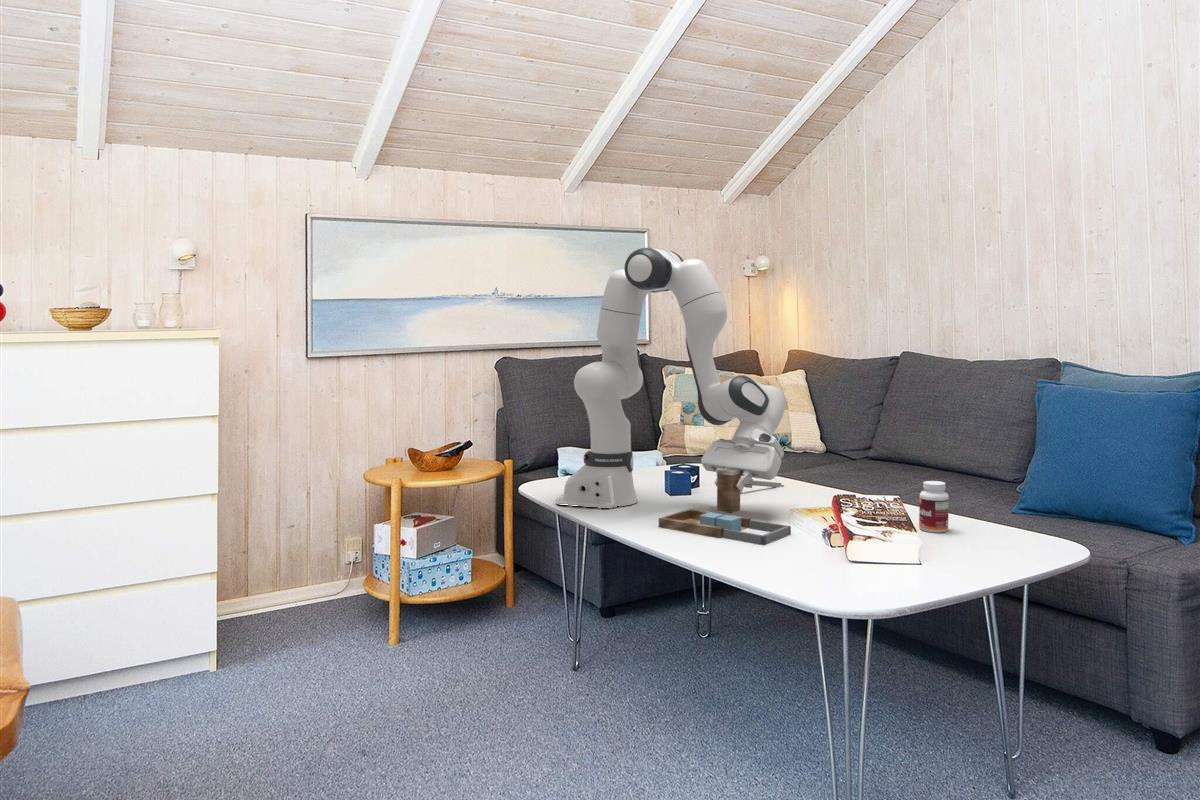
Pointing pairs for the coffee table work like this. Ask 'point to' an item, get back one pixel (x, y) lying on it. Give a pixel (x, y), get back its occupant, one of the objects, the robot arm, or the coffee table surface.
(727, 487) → the block
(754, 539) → the tray
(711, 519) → the pale blue block
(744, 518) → the slot board
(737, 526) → the light blue block
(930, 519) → the pill bottle
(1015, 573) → the coffee table surface
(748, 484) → the caliper
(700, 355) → the robot arm
